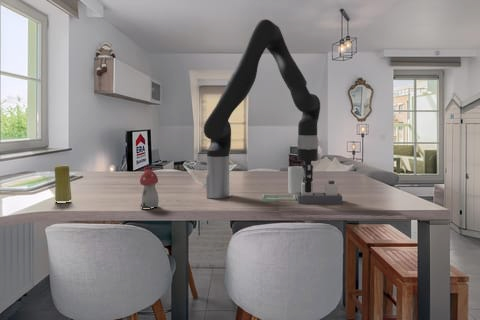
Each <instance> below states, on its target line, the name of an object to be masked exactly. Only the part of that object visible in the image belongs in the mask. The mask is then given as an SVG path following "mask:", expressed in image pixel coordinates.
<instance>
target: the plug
mask: <svg viewBox="0 0 480 320" xmlns="http://www.w3.org/2000/svg"><path fill="white" fill-rule="evenodd" d="M313 193H314V183H313V182H311V192H310V193H306V192H305V180H304V183H302V185H301V195H309V196H313Z"/></svg>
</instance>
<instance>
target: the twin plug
mask: <svg viewBox="0 0 480 320" xmlns="http://www.w3.org/2000/svg"><path fill="white" fill-rule="evenodd" d="M324 183H325V184H324V193H325V196H337V194H338V193H339V191H338V186H339V185H338V183H337V182H335V180H327V182H324Z"/></svg>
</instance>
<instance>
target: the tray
mask: <svg viewBox="0 0 480 320" xmlns="http://www.w3.org/2000/svg"><path fill="white" fill-rule="evenodd" d="M261 196H262V197H261V202H263V203H264V202H266V203H267V202H268V203H270V202H272V203H277V202H279V201H297V197H296V196H295V194H262V195H261ZM278 197H293V198H278Z"/></svg>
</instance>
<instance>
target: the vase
mask: <svg viewBox="0 0 480 320" xmlns="http://www.w3.org/2000/svg"><path fill="white" fill-rule="evenodd" d="M54 179H55V180H54V183H55V185H54V186H55V191H54V192H55V193H54V194H55V196H54V198H55V199H54V201H55V200H56V201H69V200H71V199H72V198H73V197H72V189H71V178H70V166H69V165H57V166H54Z"/></svg>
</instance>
